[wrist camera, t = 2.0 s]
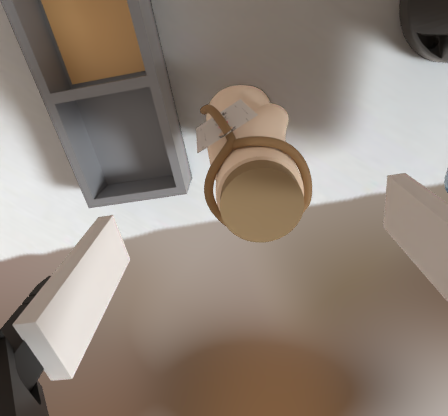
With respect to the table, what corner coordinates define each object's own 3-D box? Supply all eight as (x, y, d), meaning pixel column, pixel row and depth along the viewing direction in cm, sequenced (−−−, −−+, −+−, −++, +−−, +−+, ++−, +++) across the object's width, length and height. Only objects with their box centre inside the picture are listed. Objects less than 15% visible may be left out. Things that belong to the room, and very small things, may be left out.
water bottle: (191, 113, 42) (133, 203, 17) (233, 58, 39) (234, 73, 14) (246, 158, 45) (263, 290, 20) (289, 110, 42) (372, 200, 17)
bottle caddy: (134, -68, 33) (115, -91, 28) (192, 177, 47) (186, 193, 41) (15, -40, 35) (-24, -56, 29) (104, 190, 48) (88, 208, 43)
